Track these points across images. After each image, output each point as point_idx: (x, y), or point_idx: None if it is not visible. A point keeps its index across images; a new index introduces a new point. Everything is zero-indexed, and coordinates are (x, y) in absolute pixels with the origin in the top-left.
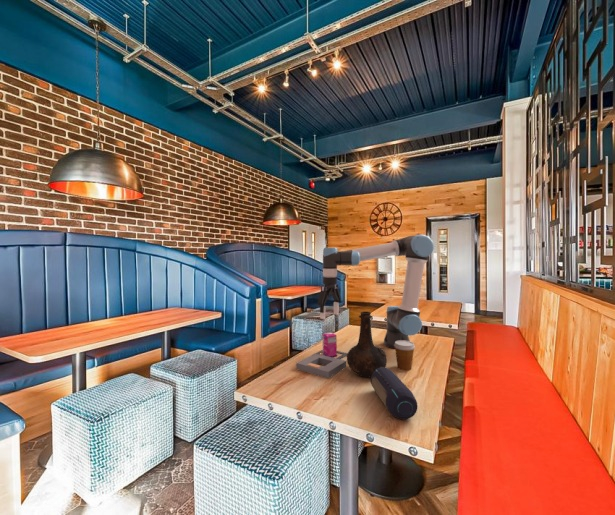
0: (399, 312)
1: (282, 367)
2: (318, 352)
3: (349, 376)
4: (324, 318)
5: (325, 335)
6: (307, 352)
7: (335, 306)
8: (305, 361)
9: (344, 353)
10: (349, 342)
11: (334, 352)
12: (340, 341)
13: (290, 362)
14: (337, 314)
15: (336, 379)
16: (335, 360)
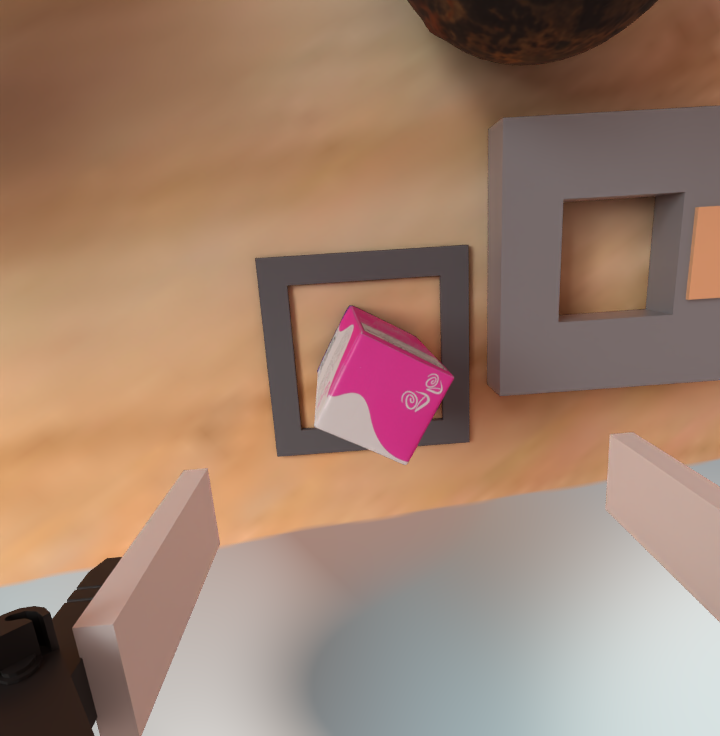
0: None
1: (706, 447)
2: None
3: None
4: (640, 438)
5: (434, 412)
6: (413, 500)
7: (168, 609)
8: (669, 349)
9: (277, 285)
10: (18, 407)
11: (371, 316)
12: (53, 473)
13: None
14: (208, 476)
15: (704, 64)
16: (541, 191)
